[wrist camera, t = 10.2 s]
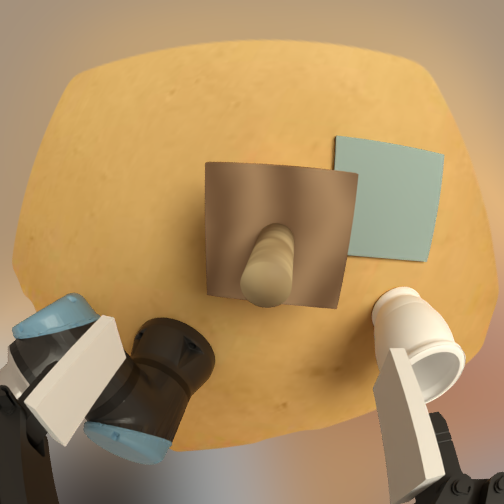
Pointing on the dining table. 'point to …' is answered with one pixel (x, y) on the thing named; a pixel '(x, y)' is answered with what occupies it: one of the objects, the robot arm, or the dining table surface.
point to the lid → (277, 232)
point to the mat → (391, 197)
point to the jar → (417, 340)
